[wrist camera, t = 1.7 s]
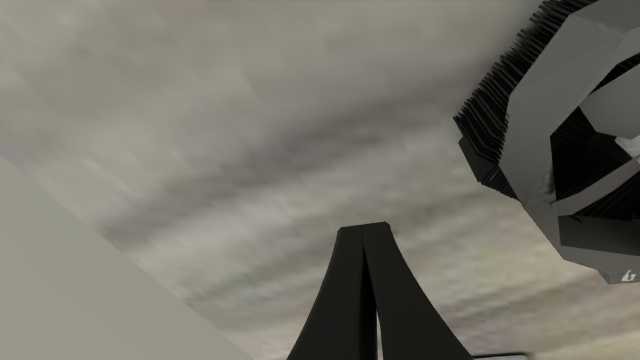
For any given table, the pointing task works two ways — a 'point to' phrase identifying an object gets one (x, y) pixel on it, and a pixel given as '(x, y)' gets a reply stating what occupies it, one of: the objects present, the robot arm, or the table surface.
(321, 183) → the table surface
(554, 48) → the cpu cooler
